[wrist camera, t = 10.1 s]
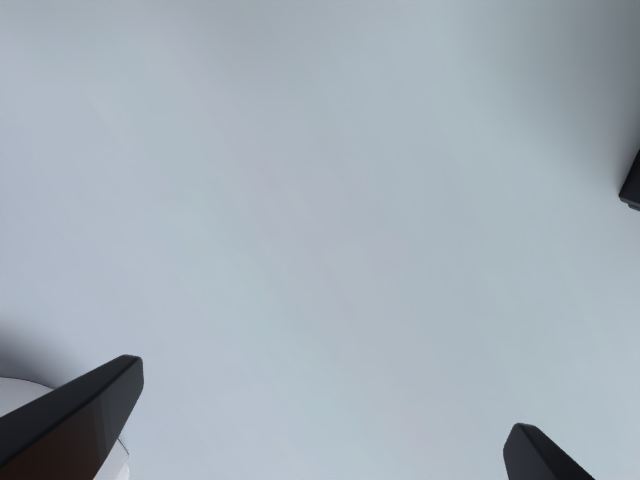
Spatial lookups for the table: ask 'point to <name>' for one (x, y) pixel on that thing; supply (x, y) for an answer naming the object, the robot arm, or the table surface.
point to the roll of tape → (16, 393)
